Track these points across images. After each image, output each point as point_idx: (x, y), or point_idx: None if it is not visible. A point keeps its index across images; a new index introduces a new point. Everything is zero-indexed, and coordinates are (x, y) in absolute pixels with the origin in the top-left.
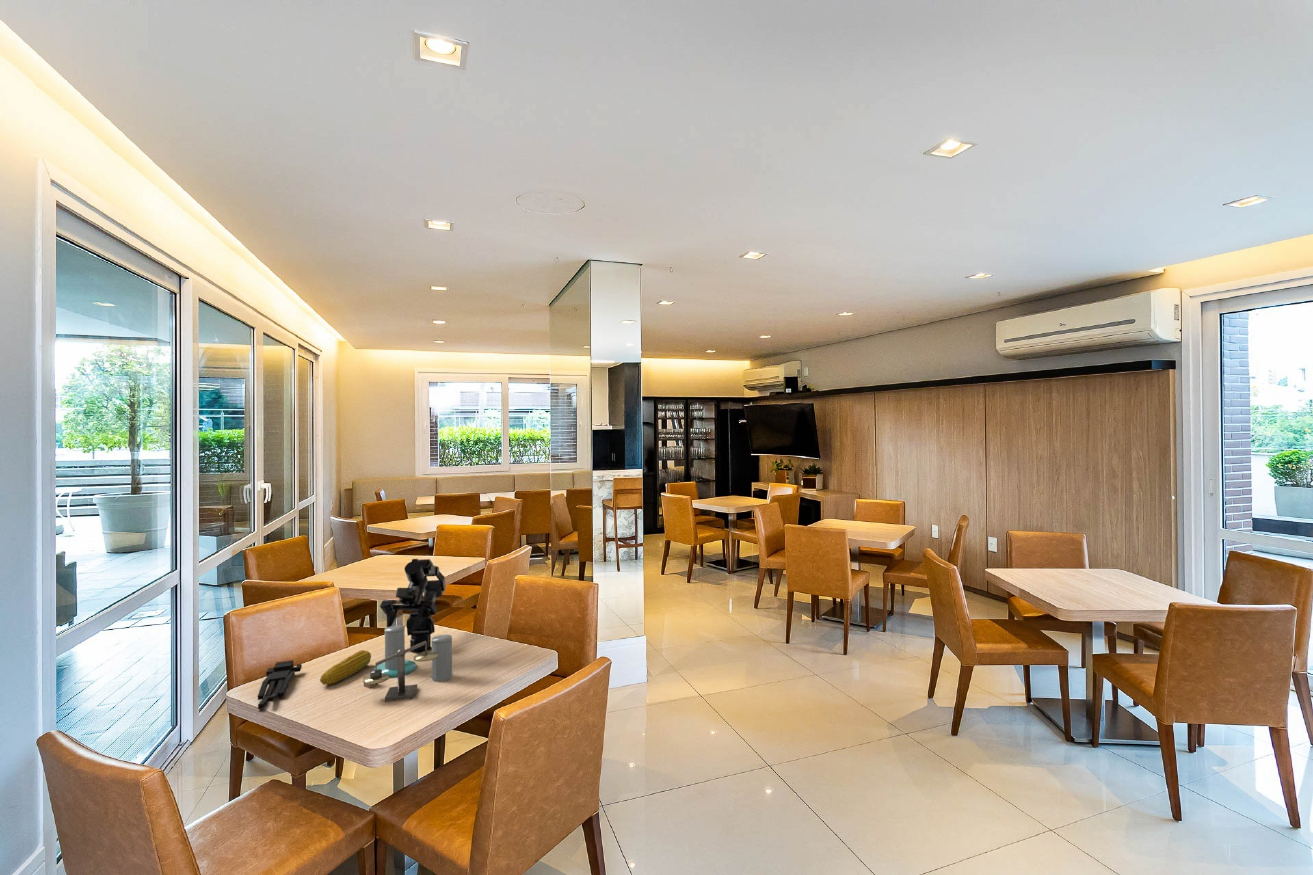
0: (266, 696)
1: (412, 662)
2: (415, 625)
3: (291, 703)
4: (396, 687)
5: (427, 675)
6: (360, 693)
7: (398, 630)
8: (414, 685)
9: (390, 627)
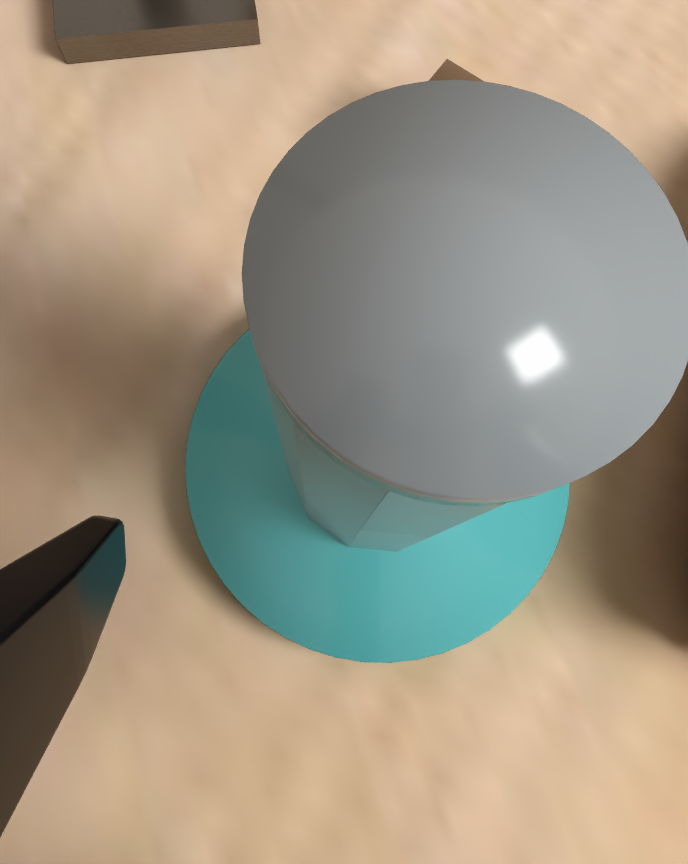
0: None
1: (238, 566)
2: (32, 561)
3: None
4: (204, 9)
5: (40, 300)
6: (457, 40)
7: (323, 136)
8: (74, 22)
9: (597, 331)
